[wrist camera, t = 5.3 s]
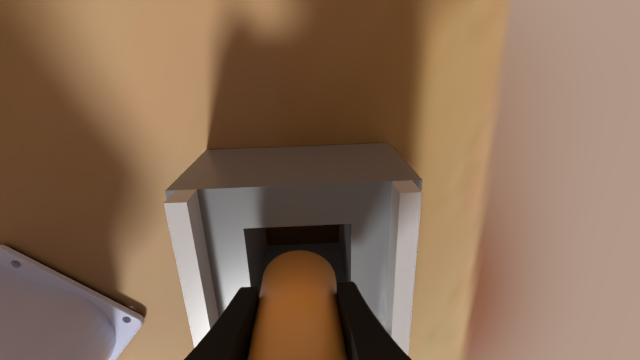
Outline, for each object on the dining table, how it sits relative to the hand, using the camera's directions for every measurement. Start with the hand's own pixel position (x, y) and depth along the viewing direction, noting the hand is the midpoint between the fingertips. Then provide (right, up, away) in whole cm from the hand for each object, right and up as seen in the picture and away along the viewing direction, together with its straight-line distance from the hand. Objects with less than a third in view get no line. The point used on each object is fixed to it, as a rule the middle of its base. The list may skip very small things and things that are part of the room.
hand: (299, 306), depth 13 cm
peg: (0, +1, +1) cm, 1 cm away
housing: (0, -1, +9) cm, 9 cm away
